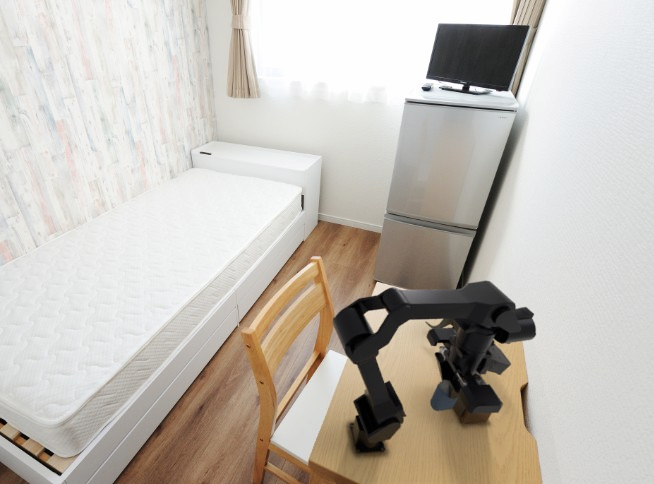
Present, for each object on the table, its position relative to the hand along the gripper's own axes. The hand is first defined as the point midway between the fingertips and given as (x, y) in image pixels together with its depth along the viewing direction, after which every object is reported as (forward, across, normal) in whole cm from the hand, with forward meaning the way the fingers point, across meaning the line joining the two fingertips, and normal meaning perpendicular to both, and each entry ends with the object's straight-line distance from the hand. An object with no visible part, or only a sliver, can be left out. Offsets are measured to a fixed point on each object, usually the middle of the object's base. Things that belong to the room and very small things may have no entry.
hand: (448, 392), depth 74 cm
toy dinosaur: (+13, +27, -21) cm, 36 cm away
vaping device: (+5, 0, 0) cm, 5 cm away
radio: (+13, +6, -10) cm, 18 cm away
